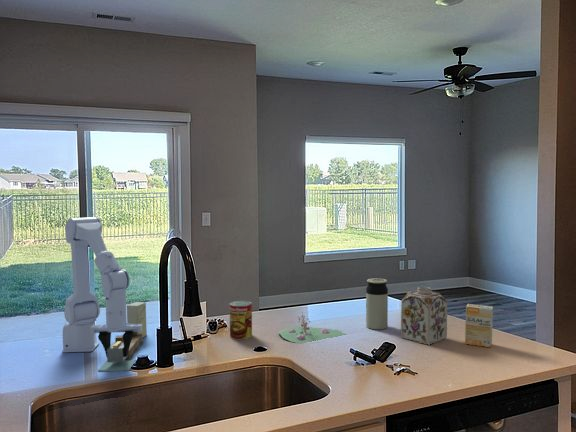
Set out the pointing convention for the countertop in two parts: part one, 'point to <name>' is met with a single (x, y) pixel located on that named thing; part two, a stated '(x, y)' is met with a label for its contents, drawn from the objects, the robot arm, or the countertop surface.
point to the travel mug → (377, 304)
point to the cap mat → (117, 366)
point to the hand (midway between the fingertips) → (117, 356)
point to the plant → (308, 333)
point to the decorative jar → (424, 316)
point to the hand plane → (132, 344)
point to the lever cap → (116, 352)
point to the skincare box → (137, 315)
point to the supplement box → (479, 325)
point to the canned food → (240, 320)
